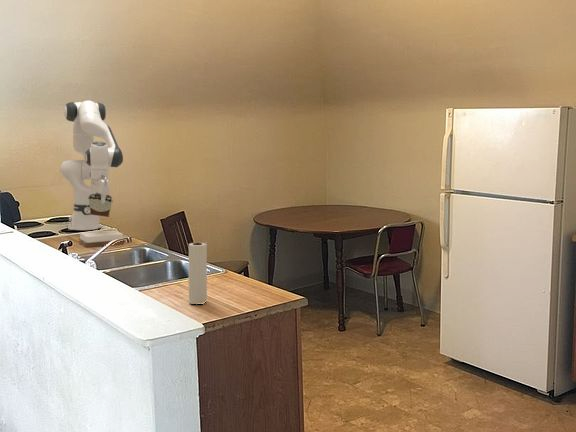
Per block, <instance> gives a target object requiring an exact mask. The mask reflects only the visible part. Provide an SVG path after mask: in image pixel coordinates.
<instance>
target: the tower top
mask: <svg viewBox="0 0 576 432" xmlns="http://www.w3.org/2000/svg"><path fill="white" fill-rule="evenodd" d="M121 237H123V238H124V234H123V233H122V232H120V231H117V230H113V229H112V230H102V231H88V232H80V233H79V239H81V240H83V241H85V242H86V243H92V242H103V241H112V240H115V239H118V238H121Z"/></svg>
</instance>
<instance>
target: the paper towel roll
mask: <svg viewBox="0 0 576 432" xmlns="http://www.w3.org/2000/svg"><path fill="white" fill-rule="evenodd" d="M207 243H208V242H191V243H188V303H191V304H198V303H203V302H205V301H206V300H207V301H208V299H207V298H208V297H207V296H208V294H207V293H208V284H207V281H208V280H207V279H208V274H207V272H208V271H207V270H208V267H207V266H208V265H207V263H208V261H207V260H208V251H207V250H208V244H207ZM191 304H190V305H191Z"/></svg>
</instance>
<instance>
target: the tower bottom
mask: <svg viewBox="0 0 576 432" xmlns="http://www.w3.org/2000/svg"><path fill="white" fill-rule="evenodd" d="M78 240H79V241H78V242H79V244H80V245H81V246H83V247H84V248H86V249H88V248H97V247H98V248H99V247H105V246H104V245H106V244H108V243H109V242H110V241H103V242H92V243H86V242H85V241H83V240H81V239H80V238H78ZM120 245H121V246H122V245H125V240H124V241H120V242H117V243H115V244H114V245H113V246H120Z"/></svg>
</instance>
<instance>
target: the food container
mask: <svg viewBox="0 0 576 432" xmlns="http://www.w3.org/2000/svg"><path fill="white" fill-rule="evenodd" d="M88 199H89V204H90V215H96V216H99V217H104V218H109V217H110V214H111V207H112V204H113V203H114V199H113V197H112V195H110V194H109V195H106V198H105V203H103V204H102V203H101V194H98V193H97V194H91V195H89V197H88Z"/></svg>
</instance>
